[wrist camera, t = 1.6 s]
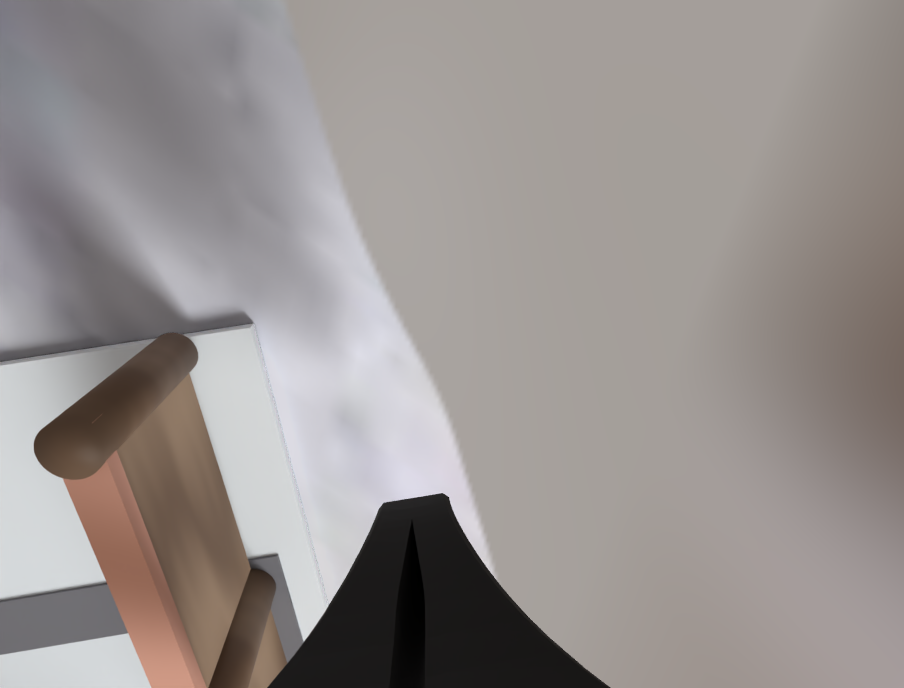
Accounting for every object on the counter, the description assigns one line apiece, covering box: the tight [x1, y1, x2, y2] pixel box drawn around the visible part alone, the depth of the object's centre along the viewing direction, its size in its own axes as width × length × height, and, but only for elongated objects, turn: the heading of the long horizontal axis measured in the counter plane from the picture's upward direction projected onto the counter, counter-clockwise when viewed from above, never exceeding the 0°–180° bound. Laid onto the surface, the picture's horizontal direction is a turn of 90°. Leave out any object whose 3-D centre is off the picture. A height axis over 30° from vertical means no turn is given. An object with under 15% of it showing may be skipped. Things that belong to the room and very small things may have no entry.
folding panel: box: [34, 333, 251, 688], centre depth 14 cm, size 8×1×5 cm, turn 8°
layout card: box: [0, 323, 328, 688], centre depth 18 cm, size 17×12×1 cm
